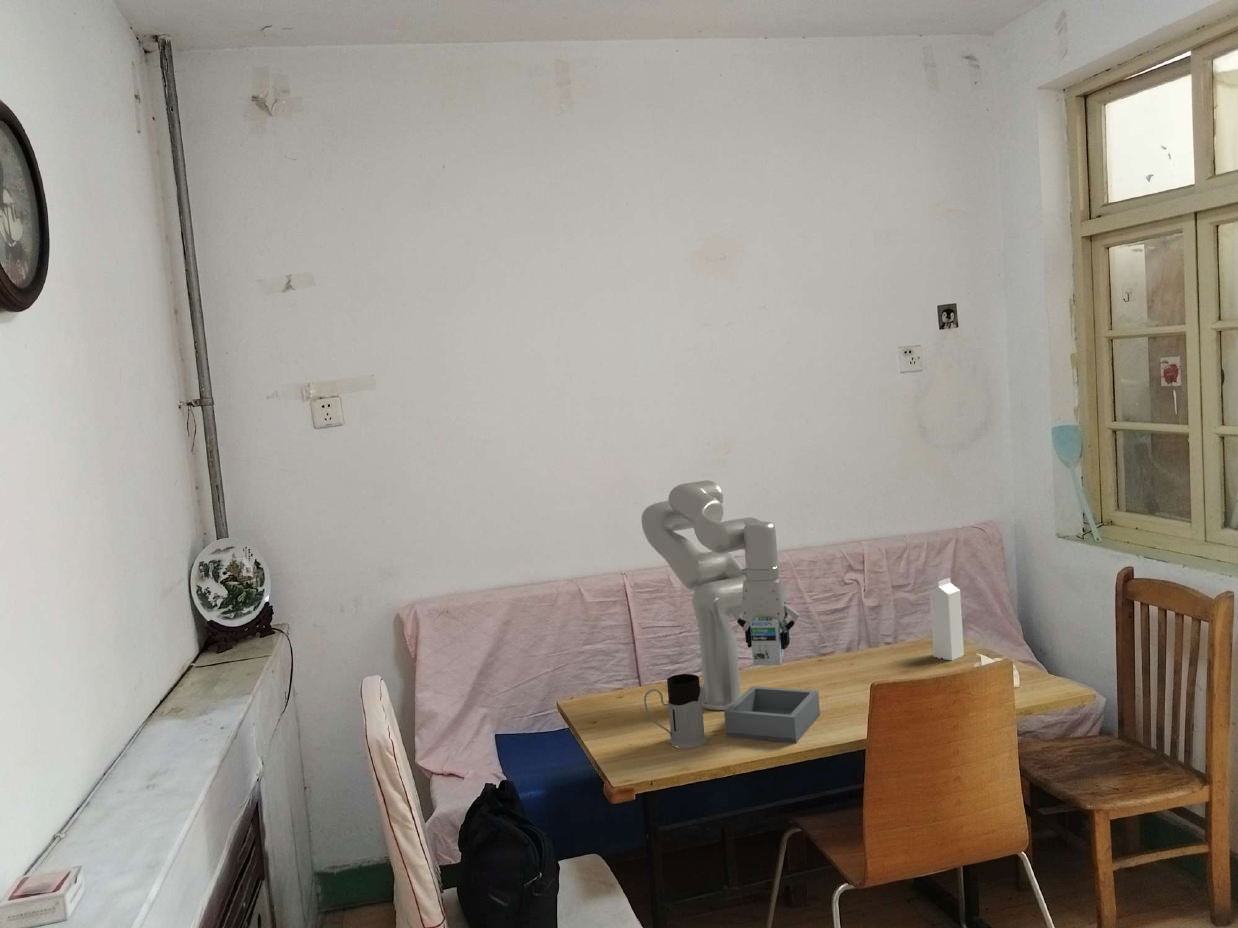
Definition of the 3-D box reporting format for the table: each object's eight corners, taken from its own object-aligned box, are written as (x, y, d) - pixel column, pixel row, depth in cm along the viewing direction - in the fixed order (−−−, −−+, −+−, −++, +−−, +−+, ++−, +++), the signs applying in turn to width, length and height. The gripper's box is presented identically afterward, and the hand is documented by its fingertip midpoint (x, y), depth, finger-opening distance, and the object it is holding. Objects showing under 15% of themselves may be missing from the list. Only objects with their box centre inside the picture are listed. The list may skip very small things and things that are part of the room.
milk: (933, 657, 279) (928, 580, 277) (945, 652, 283) (940, 576, 281) (952, 660, 274) (947, 582, 272) (964, 655, 278) (959, 578, 276)
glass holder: (712, 743, 228) (707, 680, 227) (654, 755, 224) (648, 690, 223) (698, 731, 237) (693, 670, 235) (642, 742, 233) (637, 680, 231)
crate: (726, 736, 232) (724, 711, 232) (753, 709, 249) (752, 686, 248) (796, 743, 224) (794, 717, 224) (819, 714, 241) (818, 690, 240)
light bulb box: (781, 665, 229) (778, 620, 228) (752, 665, 231) (749, 620, 230) (784, 652, 240) (781, 608, 239) (756, 652, 241) (753, 609, 240)
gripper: (722, 576, 234) (727, 649, 236) (793, 578, 226) (798, 653, 228) (733, 570, 241) (739, 640, 242) (803, 571, 233) (808, 644, 234)
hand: (767, 646), depth 235 cm, fingers closed on light bulb box, 7 cm apart
